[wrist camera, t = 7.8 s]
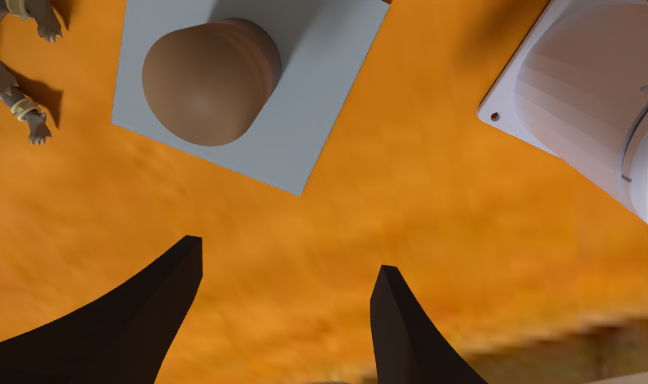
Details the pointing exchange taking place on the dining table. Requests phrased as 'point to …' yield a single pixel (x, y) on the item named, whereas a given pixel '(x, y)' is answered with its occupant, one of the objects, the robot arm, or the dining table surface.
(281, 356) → the dining table surface
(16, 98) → the figurine
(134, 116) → the slate-blue mat
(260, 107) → the walnut cylinder
